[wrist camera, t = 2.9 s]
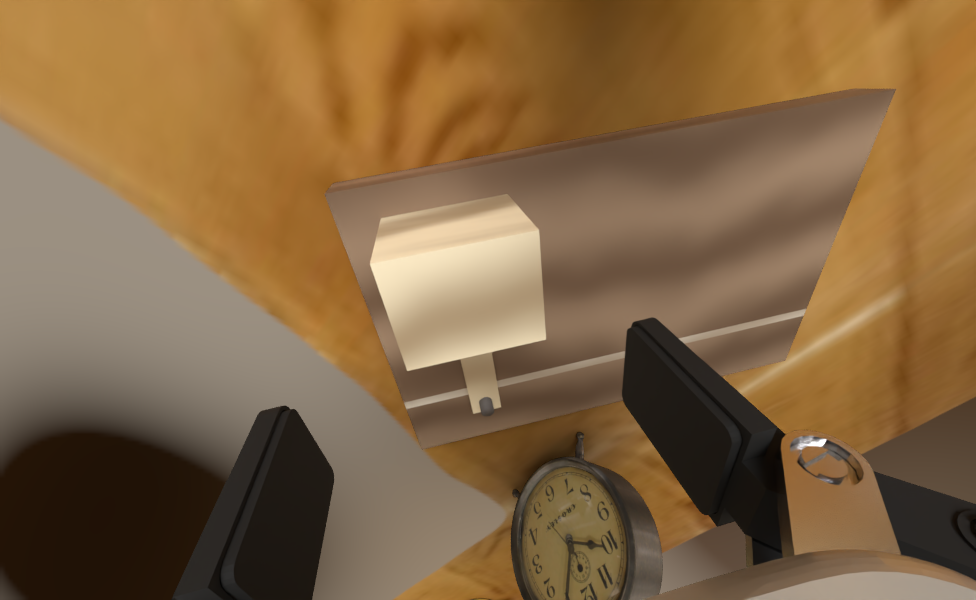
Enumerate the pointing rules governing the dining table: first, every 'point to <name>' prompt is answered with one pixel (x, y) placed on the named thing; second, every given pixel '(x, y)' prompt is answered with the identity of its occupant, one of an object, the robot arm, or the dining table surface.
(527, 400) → the wooden cutting board
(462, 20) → the dining table surface
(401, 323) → the cream square mallet
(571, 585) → the alarm clock
